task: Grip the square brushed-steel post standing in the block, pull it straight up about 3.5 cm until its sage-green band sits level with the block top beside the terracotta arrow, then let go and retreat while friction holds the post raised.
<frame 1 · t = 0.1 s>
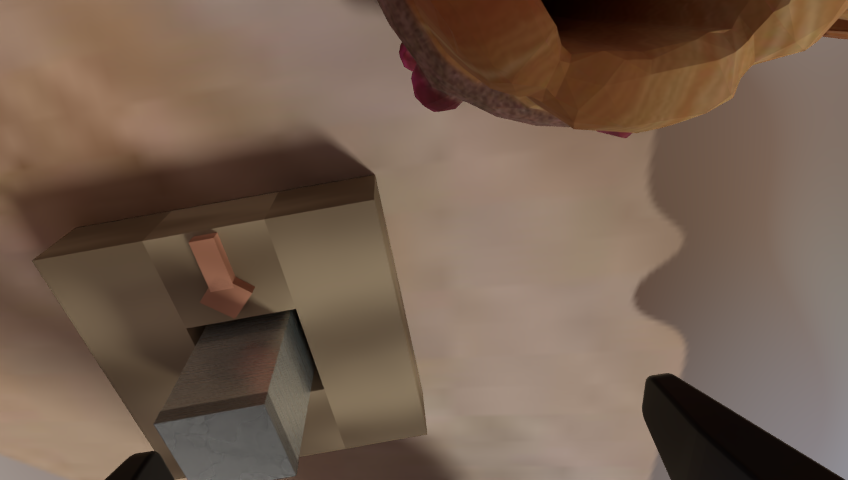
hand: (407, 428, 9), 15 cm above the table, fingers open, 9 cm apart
stand block: (271, 321, 25), on the table
column: (253, 375, 21), point 4 cm above the table, slide at 0.0 cm
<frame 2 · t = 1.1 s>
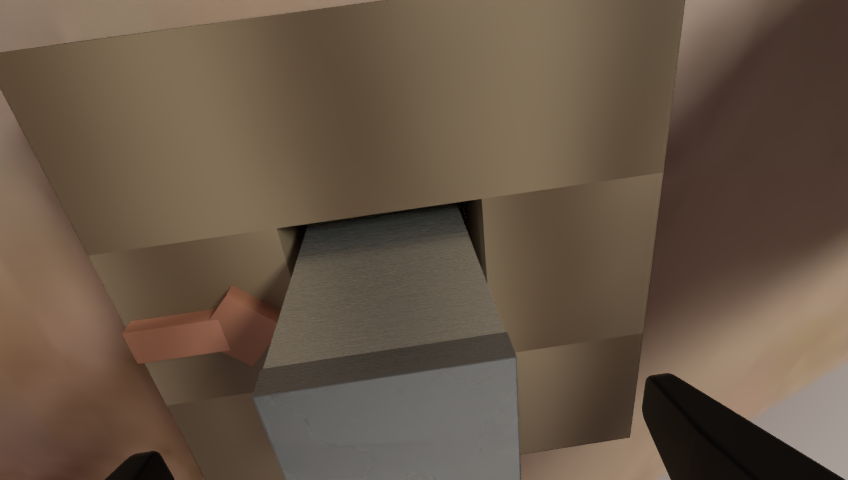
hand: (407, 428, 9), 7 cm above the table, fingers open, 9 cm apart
stand block: (391, 245, 15), on the table
column: (396, 321, 12), point 4 cm above the table, slide at 0.0 cm
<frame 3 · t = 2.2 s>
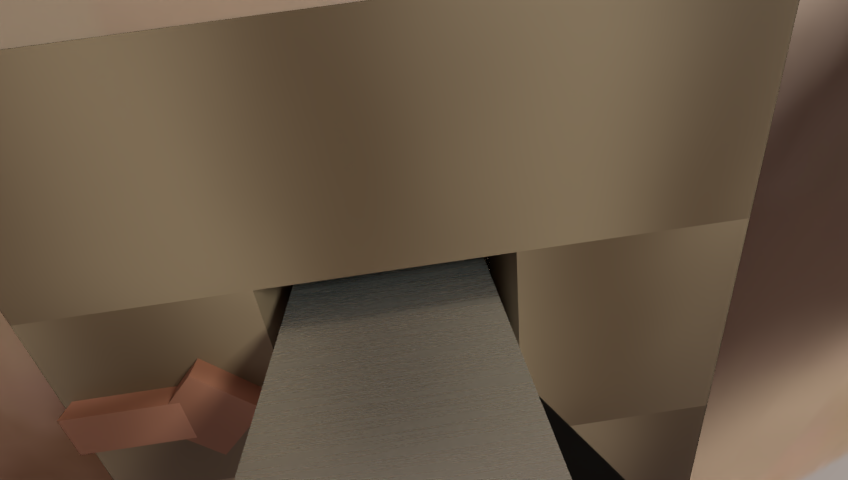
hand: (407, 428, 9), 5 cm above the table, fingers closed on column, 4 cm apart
stand block: (398, 292, 13), on the table
column: (406, 407, 9), point 4 cm above the table, slide at 0.0 cm, touching gripper
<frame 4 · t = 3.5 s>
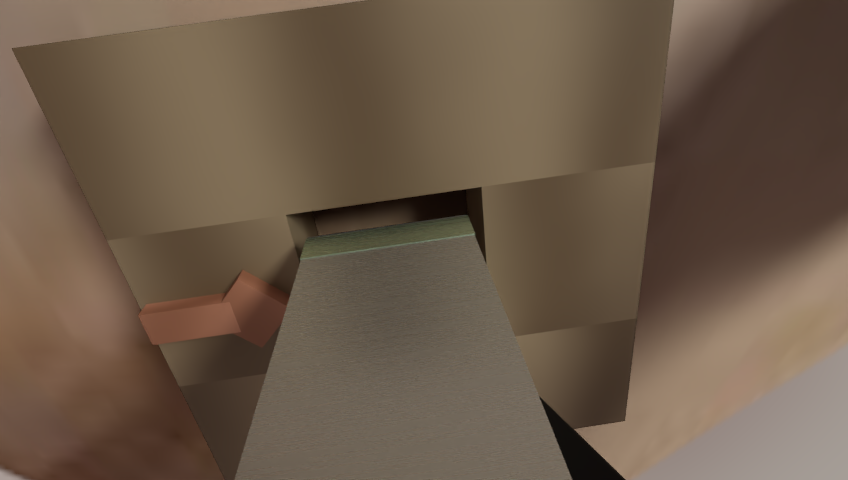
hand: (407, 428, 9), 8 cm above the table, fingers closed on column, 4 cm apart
stand block: (395, 234, 16), on the table
column: (406, 406, 9), point 7 cm above the table, slide at 3.4 cm, touching gripper
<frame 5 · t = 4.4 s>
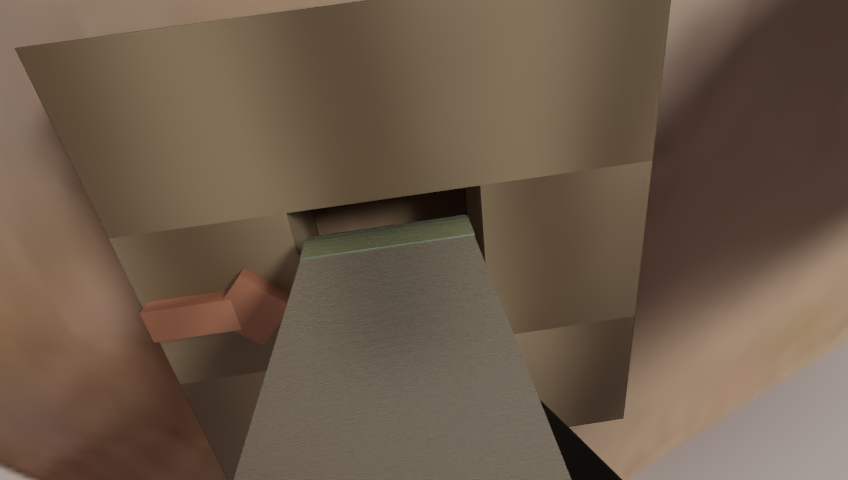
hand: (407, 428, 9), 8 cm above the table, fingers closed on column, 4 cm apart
stand block: (394, 233, 16), on the table
column: (405, 407, 9), point 8 cm above the table, slide at 3.5 cm, touching gripper
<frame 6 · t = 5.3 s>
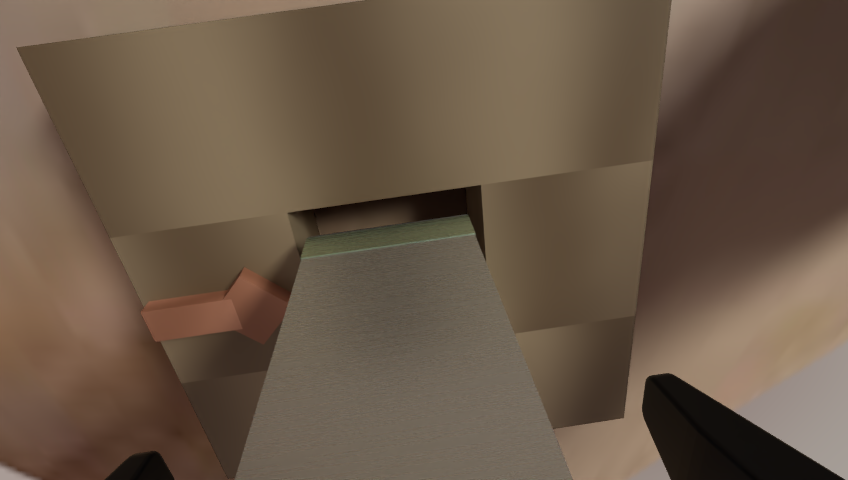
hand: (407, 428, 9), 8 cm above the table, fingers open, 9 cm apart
stand block: (395, 233, 16), on the table
column: (406, 406, 9), point 8 cm above the table, slide at 3.6 cm
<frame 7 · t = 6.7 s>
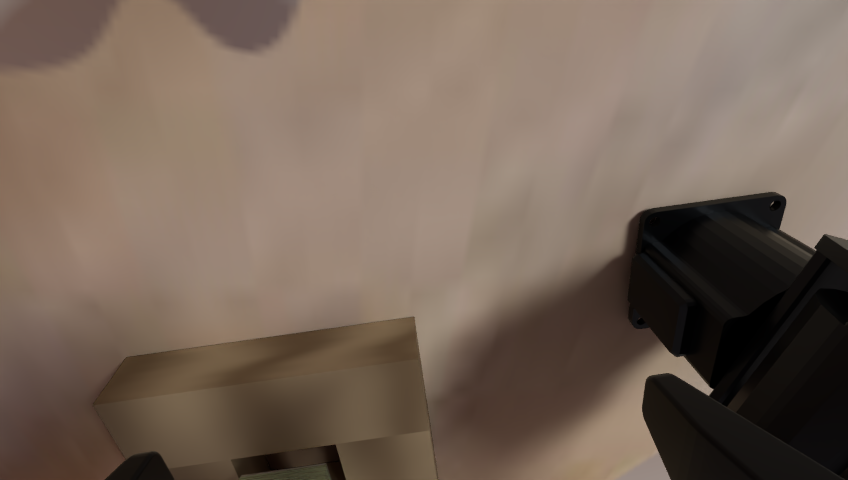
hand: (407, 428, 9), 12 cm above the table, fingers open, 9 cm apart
stand block: (304, 435, 26), on the table
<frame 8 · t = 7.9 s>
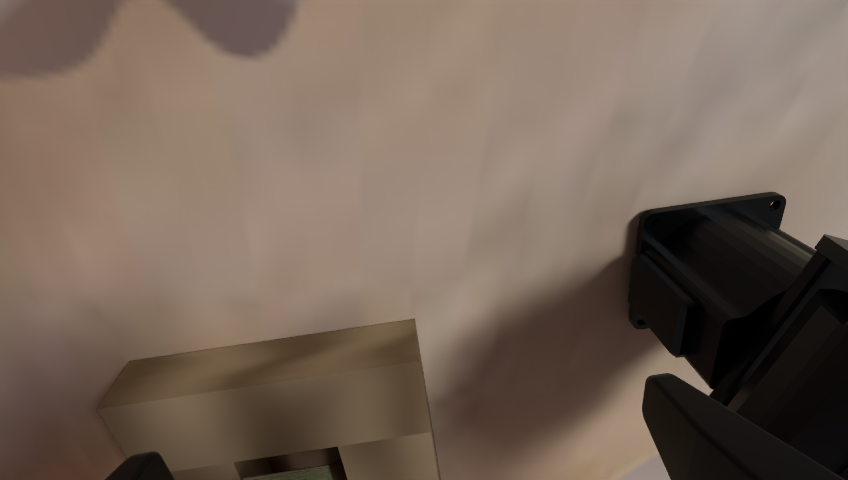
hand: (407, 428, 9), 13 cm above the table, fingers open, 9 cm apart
stand block: (306, 437, 26), on the table
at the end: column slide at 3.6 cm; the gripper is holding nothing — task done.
